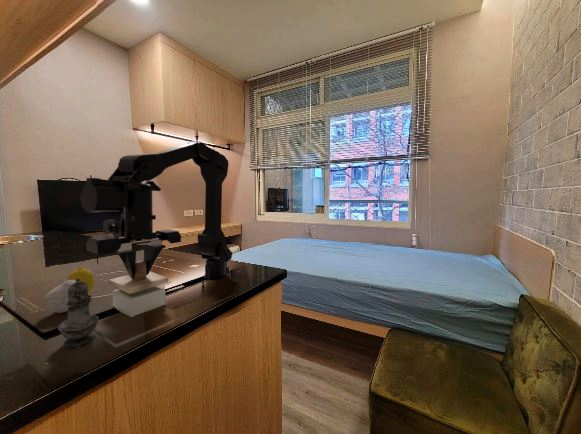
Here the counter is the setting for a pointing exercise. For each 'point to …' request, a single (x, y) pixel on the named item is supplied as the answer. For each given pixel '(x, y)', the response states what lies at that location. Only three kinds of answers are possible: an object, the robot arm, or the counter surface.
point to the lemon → (83, 277)
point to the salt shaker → (78, 318)
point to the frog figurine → (59, 297)
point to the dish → (138, 300)
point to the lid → (138, 279)
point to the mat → (168, 284)
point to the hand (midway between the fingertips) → (139, 276)
